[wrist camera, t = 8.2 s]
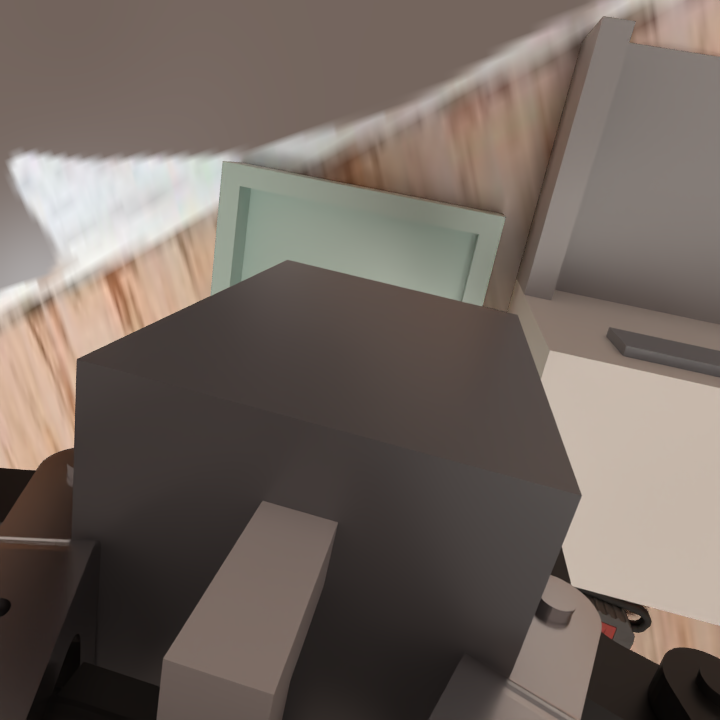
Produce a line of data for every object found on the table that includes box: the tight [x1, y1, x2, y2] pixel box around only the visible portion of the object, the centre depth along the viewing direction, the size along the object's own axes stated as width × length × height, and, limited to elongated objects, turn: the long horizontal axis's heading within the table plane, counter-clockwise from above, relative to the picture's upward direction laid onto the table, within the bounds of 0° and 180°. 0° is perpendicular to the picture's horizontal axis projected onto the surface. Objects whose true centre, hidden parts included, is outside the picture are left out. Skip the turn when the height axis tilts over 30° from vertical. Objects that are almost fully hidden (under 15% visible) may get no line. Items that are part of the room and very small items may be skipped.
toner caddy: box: [72, 260, 582, 720], centre depth 9 cm, size 5×7×9 cm
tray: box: [211, 161, 506, 306], centre depth 30 cm, size 14×14×2 cm
